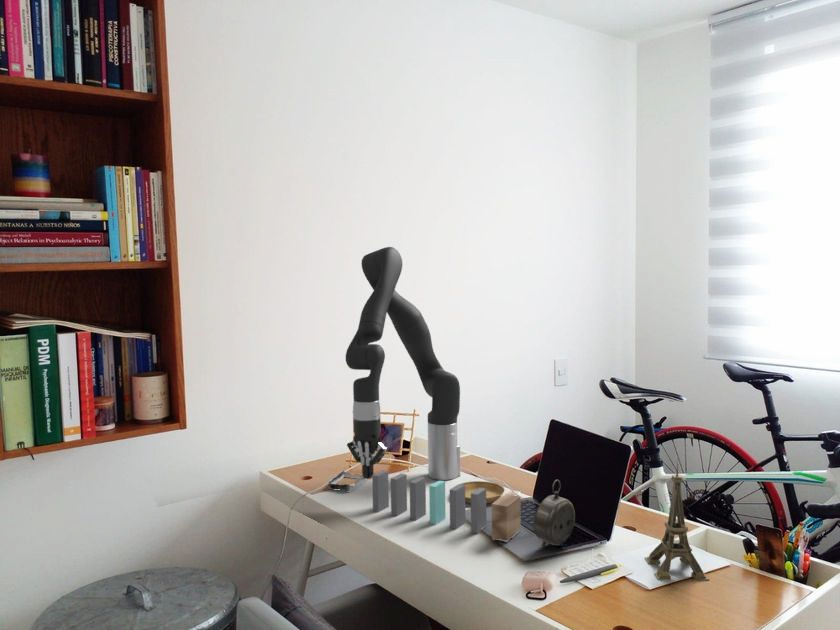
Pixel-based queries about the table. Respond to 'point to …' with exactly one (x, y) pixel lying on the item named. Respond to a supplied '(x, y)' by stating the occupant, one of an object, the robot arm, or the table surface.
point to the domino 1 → (380, 491)
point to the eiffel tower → (675, 546)
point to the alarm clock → (554, 519)
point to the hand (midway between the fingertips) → (368, 477)
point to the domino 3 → (417, 498)
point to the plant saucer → (492, 489)
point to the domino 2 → (398, 494)
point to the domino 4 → (437, 502)
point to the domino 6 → (478, 510)
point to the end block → (506, 517)
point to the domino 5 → (457, 506)
